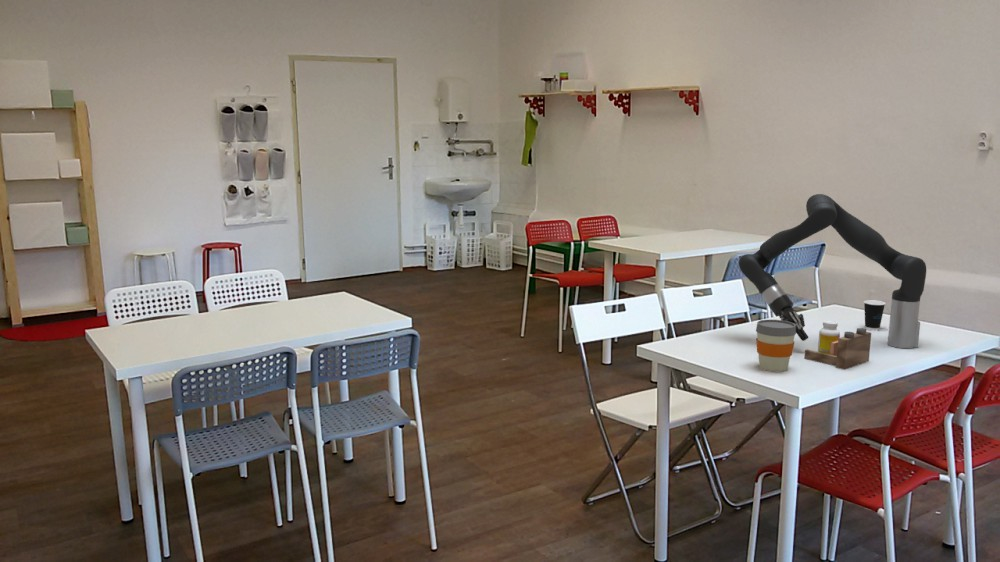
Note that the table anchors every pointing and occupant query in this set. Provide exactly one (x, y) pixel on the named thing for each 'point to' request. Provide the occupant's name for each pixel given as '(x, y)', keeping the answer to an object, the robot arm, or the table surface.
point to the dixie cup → (873, 314)
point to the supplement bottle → (828, 336)
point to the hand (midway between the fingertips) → (805, 339)
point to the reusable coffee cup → (775, 344)
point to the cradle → (846, 350)
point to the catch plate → (834, 348)
